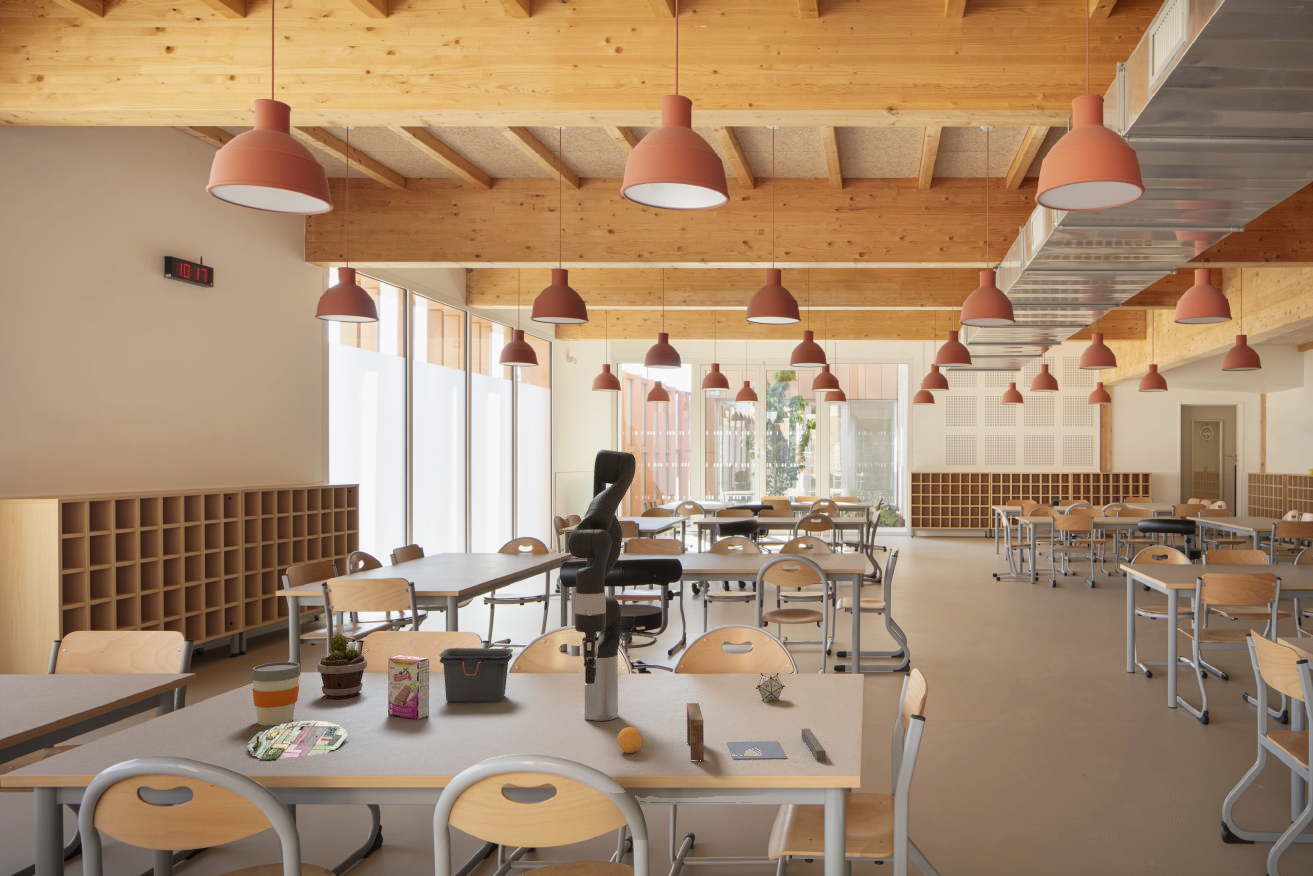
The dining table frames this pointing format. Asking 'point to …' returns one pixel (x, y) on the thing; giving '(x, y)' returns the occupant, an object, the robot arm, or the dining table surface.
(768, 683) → the game die
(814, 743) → the stopper
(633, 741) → the ball
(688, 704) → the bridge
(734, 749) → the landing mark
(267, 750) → the city model
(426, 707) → the candy bar box
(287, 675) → the reusable coffee cup
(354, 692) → the flowerpot
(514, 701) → the dining table surface
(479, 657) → the storage bin
